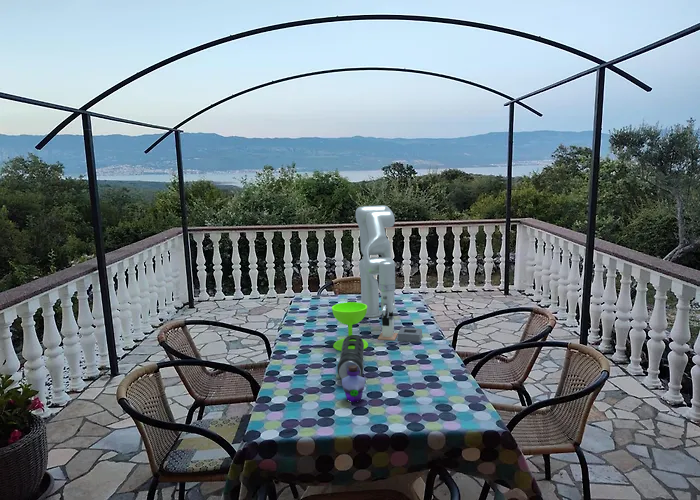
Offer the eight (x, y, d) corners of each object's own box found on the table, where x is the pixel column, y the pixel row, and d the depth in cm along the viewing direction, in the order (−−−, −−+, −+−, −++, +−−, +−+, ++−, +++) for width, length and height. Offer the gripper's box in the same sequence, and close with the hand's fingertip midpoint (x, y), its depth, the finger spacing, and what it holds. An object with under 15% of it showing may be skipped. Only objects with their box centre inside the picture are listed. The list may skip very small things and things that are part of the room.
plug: (382, 336, 223) (381, 318, 222) (383, 334, 227) (383, 315, 226) (392, 337, 222) (392, 318, 221) (394, 334, 226) (393, 316, 224)
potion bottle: (347, 407, 158) (346, 373, 156) (337, 396, 166) (336, 364, 164) (370, 401, 161) (369, 368, 160) (360, 391, 169) (359, 359, 167)
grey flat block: (397, 340, 219) (397, 333, 218) (401, 334, 227) (401, 327, 227) (419, 342, 216) (419, 334, 216) (422, 335, 225) (422, 328, 224)
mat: (377, 339, 221) (377, 338, 221) (381, 333, 230) (381, 332, 230) (394, 340, 219) (394, 339, 219) (398, 334, 228) (398, 333, 228)
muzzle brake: (364, 357, 201) (364, 334, 199) (363, 386, 173) (362, 359, 172) (342, 357, 202) (341, 334, 200) (337, 386, 174) (336, 360, 172)
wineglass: (375, 344, 216) (374, 305, 213) (351, 354, 204) (350, 314, 201) (349, 336, 226) (348, 300, 224) (325, 346, 215) (324, 308, 212)
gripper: (391, 292, 212) (392, 328, 214) (398, 283, 228) (398, 317, 231) (375, 291, 214) (376, 327, 216) (382, 282, 230) (383, 316, 233)
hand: (387, 322), depth 223 cm, fingers open, 9 cm apart
